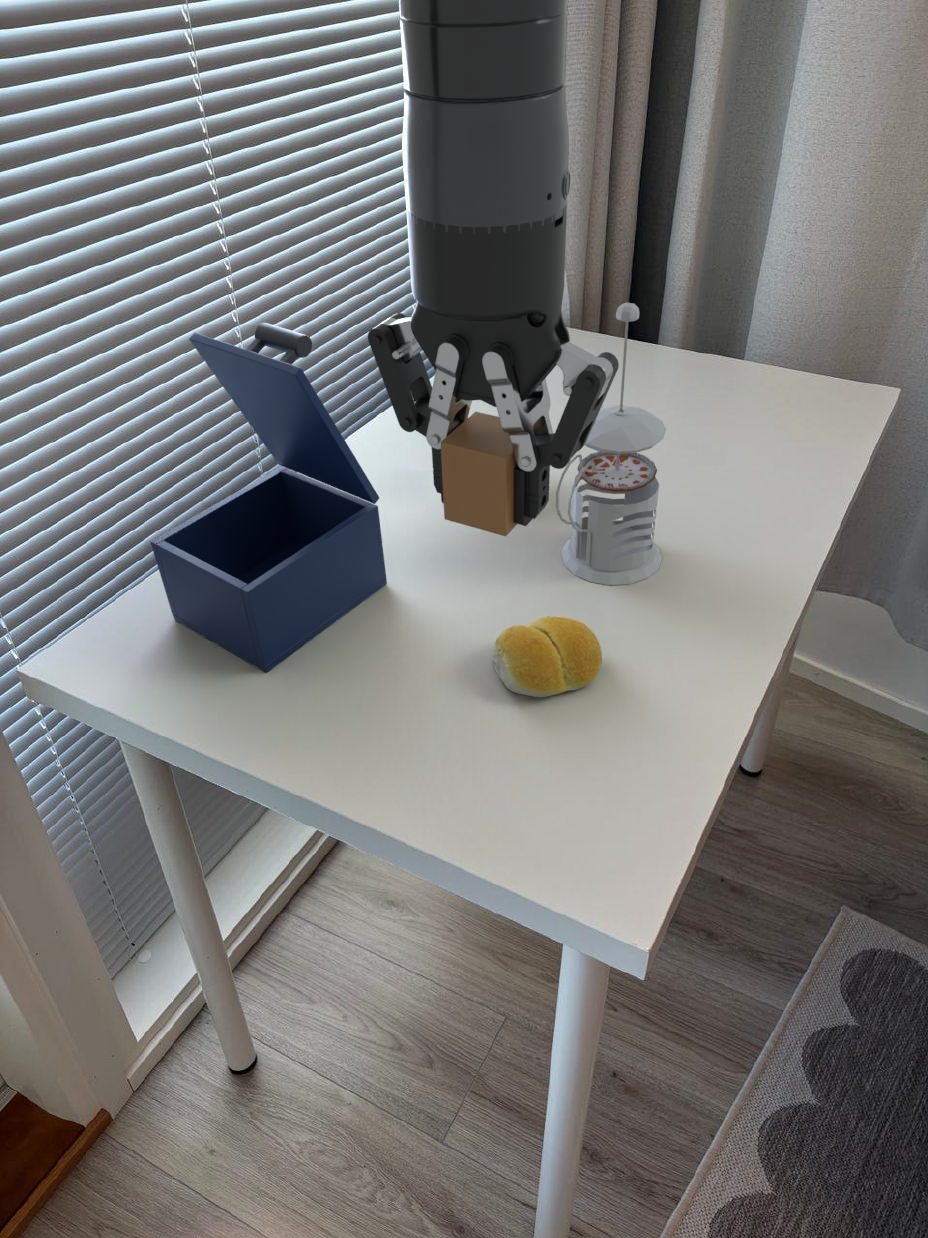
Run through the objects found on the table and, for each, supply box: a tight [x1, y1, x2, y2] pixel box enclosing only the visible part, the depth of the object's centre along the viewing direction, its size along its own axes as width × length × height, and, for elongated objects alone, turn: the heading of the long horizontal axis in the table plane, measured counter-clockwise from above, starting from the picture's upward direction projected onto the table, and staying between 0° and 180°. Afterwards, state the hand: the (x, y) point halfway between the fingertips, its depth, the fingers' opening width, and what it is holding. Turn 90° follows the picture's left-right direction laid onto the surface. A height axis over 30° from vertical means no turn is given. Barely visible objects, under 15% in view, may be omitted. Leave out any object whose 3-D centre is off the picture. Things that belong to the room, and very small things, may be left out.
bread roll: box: [491, 615, 603, 698], centre depth 79 cm, size 8×9×4 cm
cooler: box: [150, 465, 388, 674], centre depth 87 cm, size 16×13×9 cm
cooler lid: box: [188, 322, 380, 505], centre depth 82 cm, size 16×13×5 cm
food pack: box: [441, 411, 518, 537], centre depth 53 cm, size 4×4×5 cm
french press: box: [555, 302, 667, 586], centre depth 85 cm, size 10×12×25 cm
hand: (491, 507), depth 55 cm, fingers closed on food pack, 4 cm apart
